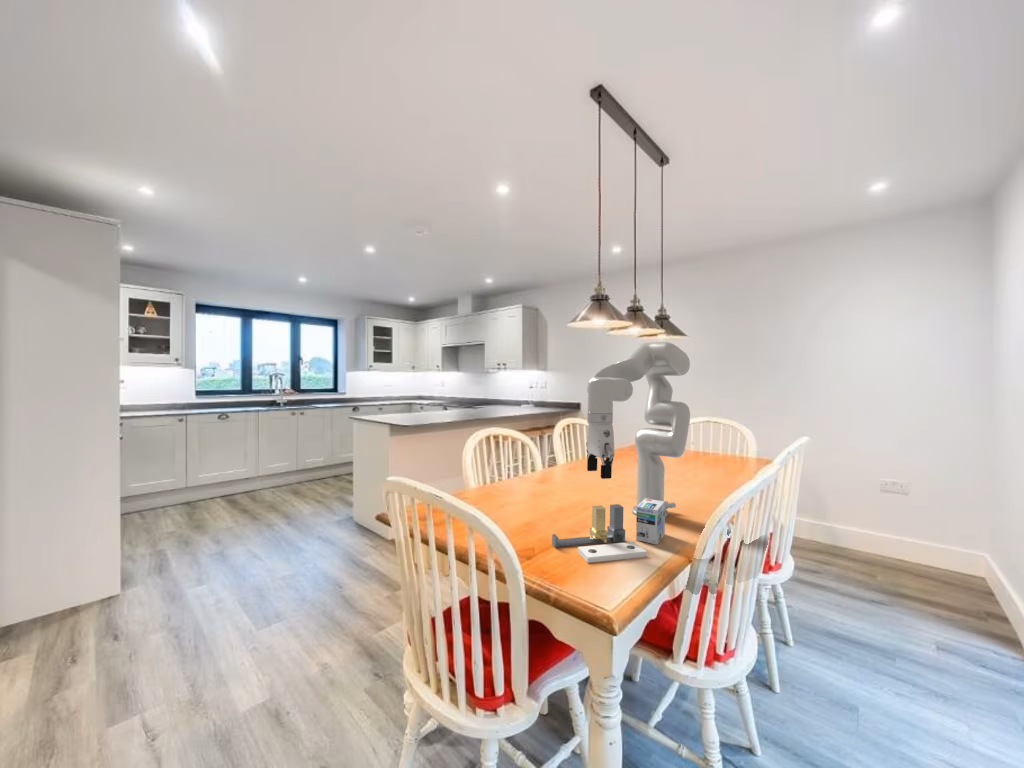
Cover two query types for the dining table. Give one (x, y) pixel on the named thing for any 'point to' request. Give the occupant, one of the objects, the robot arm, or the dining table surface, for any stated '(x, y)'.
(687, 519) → the dining table surface
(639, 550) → the hole plate
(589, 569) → the dining table surface
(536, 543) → the dining table surface
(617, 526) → the rail
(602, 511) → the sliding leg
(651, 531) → the light bulb box
